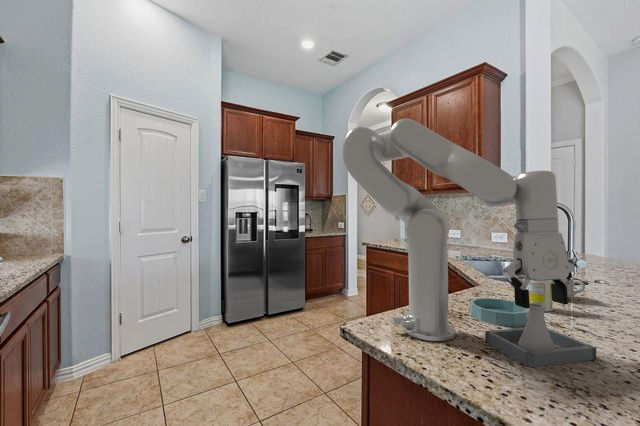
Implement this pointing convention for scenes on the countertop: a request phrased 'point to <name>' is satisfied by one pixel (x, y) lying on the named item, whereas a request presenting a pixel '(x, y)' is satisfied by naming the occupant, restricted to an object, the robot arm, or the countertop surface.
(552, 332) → the parts tray
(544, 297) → the supplement bottle
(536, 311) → the flask
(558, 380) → the countertop surface
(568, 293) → the teacup
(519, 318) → the bowl
